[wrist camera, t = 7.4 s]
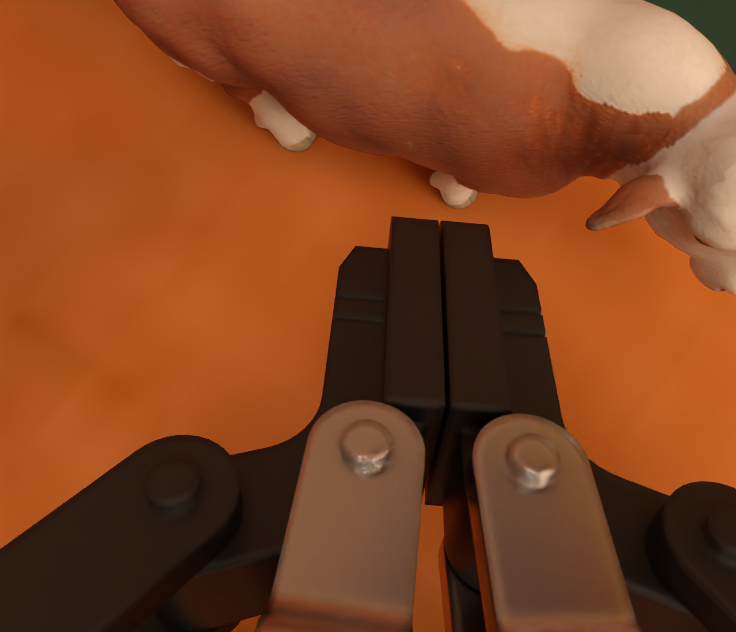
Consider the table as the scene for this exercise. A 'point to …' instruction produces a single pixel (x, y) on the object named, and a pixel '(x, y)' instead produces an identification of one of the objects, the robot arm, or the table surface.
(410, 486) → the robot arm
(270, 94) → the bull figurine
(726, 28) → the cutting mat
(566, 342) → the table surface
